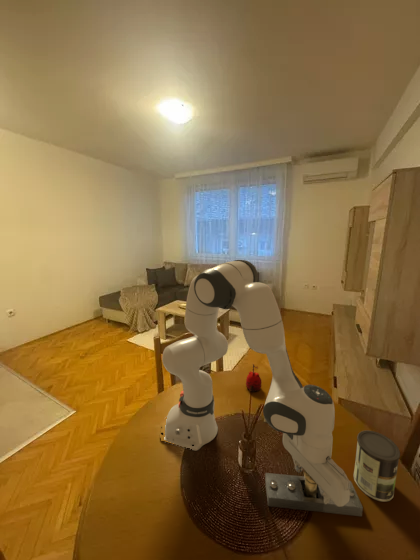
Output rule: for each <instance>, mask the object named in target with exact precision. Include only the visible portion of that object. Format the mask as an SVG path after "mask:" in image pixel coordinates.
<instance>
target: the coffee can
mask: <svg viewBox="0 0 420 560" xmlns="http://www.w3.org/2000/svg"><path fill="white" fill-rule="evenodd" d="M356 439H357V443H356V453H355V463H354V470H353V480H354V482H355V484H356V485H357V487H358V488H359V490H361V491H362V492H363V493H364V494H365V495H366V496H368V497H369V498H371V499H373V500H375V501H378V502H391V500H392V499H393V498H394V495H395V488H396V481H397V474H398V467H399V461H400V458H401V452H400V449H399V447H398V446H397V444H396V443H395V442H394V440H392V439H391V438H390V437H387V436H386V435H384V434H383V433H380V432H377V431H374V430H368V429H367V430H361V431H360V432H359V433H358V434H357V436H356Z"/></svg>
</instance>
